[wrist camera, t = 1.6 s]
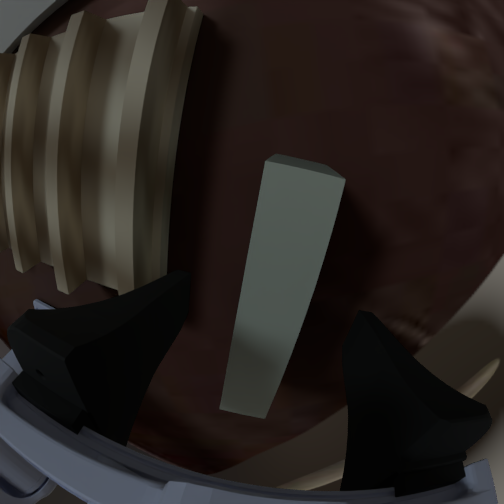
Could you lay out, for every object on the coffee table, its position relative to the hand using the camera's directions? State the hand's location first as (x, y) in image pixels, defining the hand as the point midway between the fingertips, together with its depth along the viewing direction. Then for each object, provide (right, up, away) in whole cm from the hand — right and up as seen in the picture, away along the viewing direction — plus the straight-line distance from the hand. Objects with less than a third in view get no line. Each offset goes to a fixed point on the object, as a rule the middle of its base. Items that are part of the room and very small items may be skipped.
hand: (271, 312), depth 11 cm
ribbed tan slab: (-13, +9, +2) cm, 16 cm away
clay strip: (0, +1, +3) cm, 4 cm away
